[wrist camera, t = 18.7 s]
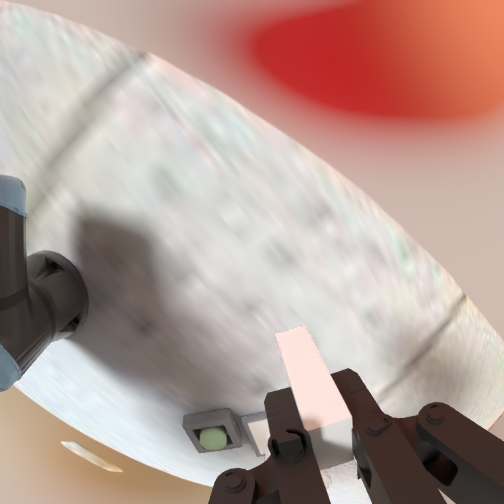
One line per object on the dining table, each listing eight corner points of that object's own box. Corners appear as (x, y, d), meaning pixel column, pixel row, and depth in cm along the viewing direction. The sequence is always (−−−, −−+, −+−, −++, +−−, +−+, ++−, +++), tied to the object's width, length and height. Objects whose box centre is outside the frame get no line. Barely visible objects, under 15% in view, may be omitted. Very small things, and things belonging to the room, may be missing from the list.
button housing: (199, 442, 52) (199, 453, 49) (183, 415, 50) (182, 425, 47) (241, 436, 52) (242, 446, 49) (228, 407, 50) (229, 418, 47)
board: (256, 452, 54) (257, 457, 52) (240, 416, 51) (241, 421, 49) (328, 434, 54) (330, 439, 53) (322, 395, 51) (324, 400, 49)
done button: (205, 439, 50) (204, 451, 47) (196, 424, 49) (195, 436, 46) (229, 436, 50) (229, 447, 47) (221, 420, 49) (221, 432, 46)
